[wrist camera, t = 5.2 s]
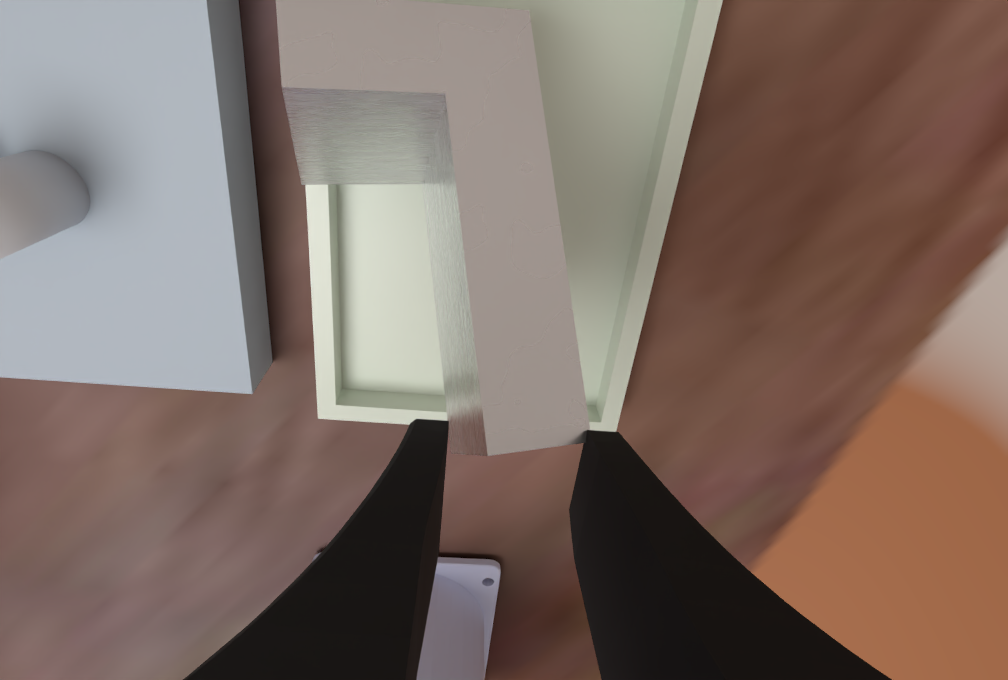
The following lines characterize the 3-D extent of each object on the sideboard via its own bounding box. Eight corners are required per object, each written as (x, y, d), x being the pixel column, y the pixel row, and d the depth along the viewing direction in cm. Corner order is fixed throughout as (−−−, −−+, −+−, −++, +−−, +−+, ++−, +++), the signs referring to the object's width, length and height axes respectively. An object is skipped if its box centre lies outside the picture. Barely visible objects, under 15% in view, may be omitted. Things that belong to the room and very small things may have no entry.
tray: (605, 411, 21) (614, 437, 20) (329, 392, 20) (318, 418, 19) (709, -37, 15) (734, -46, 13) (309, -94, 14) (289, -109, 12)
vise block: (272, 362, 20) (205, 467, 15) (28, 344, 19) (-127, 448, 14) (233, -50, 14) (106, -98, 9) (-113, -96, 13) (-446, -173, 9)
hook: (528, 443, 14) (591, 441, 10) (322, 471, 13) (308, 480, 9) (486, 116, 16) (528, 10, 12) (296, 110, 14) (274, -11, 11)
